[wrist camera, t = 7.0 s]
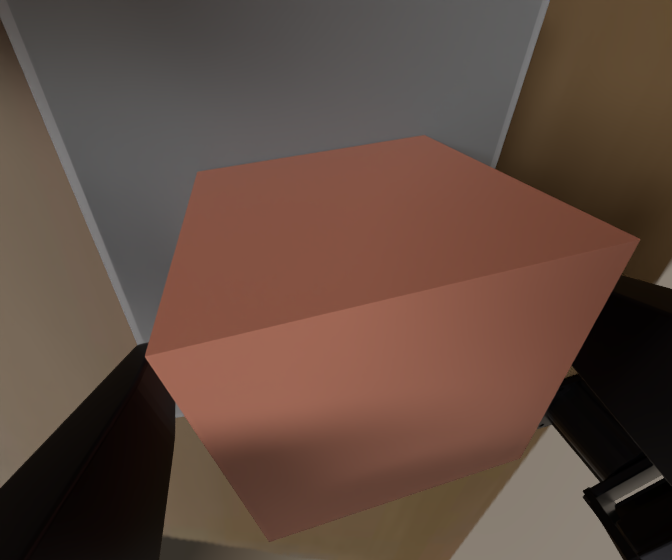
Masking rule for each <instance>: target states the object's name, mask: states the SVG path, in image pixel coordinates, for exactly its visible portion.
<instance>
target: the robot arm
mask: <svg viewBox="0 0 672 560" xmlns="http://www.w3.org/2000/svg"><path fill="white" fill-rule="evenodd" d="M148 343H149V342H147V343H142V344H139V345H137V346H136V347H135V348H134V349H133V350H132V351H131V352H130V353H129V354H128V355H127V356H126V357H125V358H124V359H123V360H122V361H121V362H120V363H119V365H118V366H117V367H116V368H115V369H114V370H113V371H112V372H111V373H110V374H109V375H108V376H107V377H106V378H105V379H104V380H103V381H102V382H101V383H100V384H99V385H98V386H97V388H96V389H95V390H94V391H93V392H92V393H91V394H90V395H89V396H88V397H87V398H86V399H85V400H84V401H83V402H82V403H81V404H80V405H79V406H78V407H77V408H76V410H75V411H74V412H73V413H72V414H71V415H70V416H69V417H68V418H67V419H66V420H65V421H64V422H63V423H62V424H61V425H60V426H59V427H58V428H57V429H56V430H55V432H54V433H53V434H52V435H51V436H50V437H49V438H48V439H47V440H46V441H45V442H44V443H43V444H42V445H41V446H40V447H39V448H38V449H37V450H36V451H35V452H34V453H33V455H32V456H31V457H30V458H29V459H28V460H27V461H26V462H25V463H24V464H23V465H22V466H21V467H20V468H19V469H18V470H17V471H16V472H15V473H14V474H13V475H12V477H11V478H10V479H9V480H8V481H7V482H6V483H5V484H4V485H3V486H2V487H1V488H0V560H159V557H160V549H161V541H162V534H163V527H164V519H165V511H166V504H167V496H168V489H169V481H170V474H171V466H172V458H173V451H174V441H175V405H176V402H175V401H174V399H173V398H172V396H171V395H170V394H169V392H168V391H167V389H166V388H165V386H164V385H163V383H162V382H161V380H160V379H159V377H158V376H157V374H156V373H155V371H154V370H153V368H152V367H151V365H150V364H149V362H148V361H147V359H146V358H145V354H146V350H147V347H148ZM572 366H573V368H574V369H575V370H576V371H577V373H578V374H579V375H580V376H577V377H574V378H571V379H567V380H564V381H562V383H561V385H560V387H559V389H558V391H557V392H556V394H555V396H554V398H553V400H552V401H551V403H550V405H549V407H548V409H547V411H546V412H545V414H544V416H543V418H542V420H541V421H540V423H539V425H538V427H537V429H539V428H542V427H546V426H549V425H553V426H554V427H555V429H556V430H557V431H558V432H559V433H560V434H561V436H562V437H563V438H564V439H565V441H566V442H567V443H568V444H569V445H570V447H571V448H572V449H573V450H574V451H575V452H576V454H577V455H578V456H579V457H580V458H581V460H582V461H583V462H584V463H585V464H586V466H587V467H588V468H589V469H590V471H591V472H592V473H593V474H594V475H595V477H596V478H597V479H598V480H599V481H600V483H598V484H597V485H595V486H593V487H591V488H589V487H588V488H587V489H585V490H583V492H584V494H585V495H584V496H583V498H584V500H585V501H586V502H587V504H588V505H589V506H590V508H591V509H592V510H593V511H594V513H595V514H596V516H597V517H598V518H599V520H600V521H601V523H602V524H603V526H604V527H605V529H606V531H607V533H608V534H609V536H610V538H611V539H612V541H613V543H614V544H615V546H616V548H617V550H618V551H619V553H620V555H621V556H622V558H623V560H672V289H670V288H666V287H663V286H659V285H655V284H652V283H648V282H644V281H641V280H637V279H633V278H630V277H626V276H622V275H621V276H620V278H619V280H618V281H617V283H616V285H615V287H614V289H613V290H612V292H611V294H610V296H609V298H608V300H607V301H606V303H605V305H604V307H603V309H602V310H601V312H600V314H599V316H598V318H597V320H596V321H595V323H594V325H593V327H592V329H591V330H590V332H589V334H588V336H587V338H586V340H585V341H584V343H583V345H582V347H581V349H580V351H579V352H578V354H577V356H576V358H575V360H574V361H573V363H572ZM661 475H663V477H664V478H663V479H661V480H659V481H658V482H656V483H654V484H652V485H650V486H648V487H647V488H645V489H643V490H641V491H639V492H637V493H636V494H634V495H632V496H630V497H628V498H626V499H624V500H623V501H621V502H619V503H617V504H616V503H615V502H614V501H615V500H617V499H619V498H621V497H623V496H624V495H626V494H628V493H630V492H632V491H633V490H635V489H637V488H639V487H641V486H643V485H644V484H646V483H648V482H650V481H652V480H654V479H655V478H657V477H659V476H661Z"/></svg>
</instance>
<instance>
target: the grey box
mask: <svg viewBox="0 0 672 560" xmlns="http://www.w3.org/2000/svg"><path fill="white" fill-rule="evenodd" d="M549 1H550V0H0V18H1V20H2V23H3V25H4V27H5V30H6V32H7V35H8V37H9V39H10V42H11V44H12V47H13V49H14V51H15V54H16V56H17V59H18V61H19V63H20V66H21V68H22V70H23V73H24V75H25V78H26V80H27V82H28V85H29V87H30V90H31V92H32V94H33V97H34V99H35V101H36V104H37V106H38V109H39V111H40V113H41V116H42V118H43V121H44V123H45V125H46V128H47V130H48V132H49V135H50V137H51V140H52V142H53V144H54V147H55V149H56V152H57V154H58V156H59V159H60V161H61V163H62V166H63V168H64V171H65V173H66V175H67V178H68V180H69V183H70V185H71V187H72V190H73V192H74V194H75V197H76V199H77V202H78V204H79V206H80V209H81V211H82V214H83V216H84V218H85V221H86V223H87V225H88V228H89V230H90V233H91V235H92V237H93V240H94V242H95V245H96V247H97V249H98V252H99V254H100V256H101V259H102V261H103V264H104V266H105V268H106V271H107V273H108V276H109V278H110V280H111V283H112V285H113V287H114V290H115V292H116V295H117V297H118V299H119V302H120V304H121V307H122V309H123V311H124V314H125V316H126V318H127V321H128V323H129V326H130V328H131V330H132V333H133V335H134V338H135V340H136V342H137V345H139V344H142V343H147V342H149V340H150V336H151V333H152V329H153V326H154V322H155V319H156V315H157V312H158V308H159V305H160V301H161V298H162V294H163V291H164V287H165V284H166V280H167V277H168V273H169V269H170V266H171V262H172V259H173V255H174V252H175V248H176V245H177V241H178V238H179V234H180V231H181V227H182V224H183V220H184V217H185V213H186V210H187V206H188V203H189V199H190V196H191V192H192V189H193V185H194V182H195V178H196V175H197V172H199V171H205V170H211V169H217V168H223V167H230V166H236V165H242V164H248V163H254V162H261V161H267V160H273V159H279V158H285V157H292V156H298V155H304V154H310V153H316V152H323V151H329V150H335V149H341V148H347V147H354V146H360V145H366V144H372V143H378V142H384V141H391V140H397V139H403V138H409V137H415V136H422V135H426V136H428V137H430V138H432V139H434V140H436V141H438V142H440V143H442V144H444V145H446V146H448V147H450V148H452V149H455V150H457V151H459V152H461V153H463V154H465V155H467V156H469V157H471V158H473V159H475V160H477V161H479V162H481V163H484V164H486V165H488V166H490V167H492V168H494V169H495V168H496V165H497V162H498V159H499V156H500V152H501V149H502V146H503V143H504V140H505V137H506V134H507V131H508V128H509V125H510V122H511V118H512V115H513V112H514V109H515V106H516V103H517V100H518V97H519V94H520V91H521V88H522V85H523V81H524V78H525V75H526V72H527V69H528V66H529V63H530V60H531V57H532V54H533V51H534V47H535V44H536V41H537V38H538V35H539V32H540V29H541V26H542V23H543V20H544V17H545V14H546V10H547V7H548V4H549ZM182 416H184V414H183V413H182V411H181V410H180V408H179V407H178V405H177V404H176V405H175V418H176V417H182Z"/></svg>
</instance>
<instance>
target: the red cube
mask: <svg viewBox="0 0 672 560" xmlns="http://www.w3.org/2000/svg"><path fill="white" fill-rule="evenodd" d="M639 241H640V239H639V238H637V237H635V236H633V235H631V234H629V233H627V232H625V231H622V230H620V229H618V228H616V227H614V226H612V225H610V224H608V223H606V222H604V221H602V220H600V219H598V218H595V217H593V216H591V215H589V214H587V213H585V212H583V211H581V210H579V209H577V208H575V207H573V206H571V205H569V204H566V203H564V202H562V201H560V200H558V199H556V198H554V197H552V196H550V195H548V194H546V193H544V192H542V191H540V190H537V189H535V188H533V187H531V186H529V185H527V184H525V183H523V182H521V181H519V180H517V179H515V178H513V177H510V176H508V175H506V174H504V173H502V172H500V171H498V170H496V169H494V168H492V167H490V166H488V165H486V164H484V163H481V162H479V161H477V160H475V159H473V158H471V157H469V156H467V155H465V154H463V153H461V152H459V151H457V150H455V149H452V148H450V147H448V146H446V145H444V144H442V143H440V142H438V141H436V140H434V139H432V138H430V137H428V136H426V135H422V136H415V137H409V138H403V139H397V140H391V141H384V142H378V143H372V144H366V145H360V146H354V147H347V148H341V149H335V150H329V151H323V152H316V153H310V154H304V155H298V156H292V157H285V158H279V159H273V160H267V161H261V162H254V163H248V164H242V165H236V166H230V167H223V168H217V169H211V170H205V171H199V172H197V175H196V178H195V182H194V185H193V189H192V192H191V196H190V199H189V203H188V206H187V210H186V213H185V217H184V220H183V224H182V227H181V231H180V234H179V238H178V241H177V245H176V248H175V252H174V255H173V259H172V262H171V266H170V269H169V273H168V277H167V280H166V284H165V287H164V291H163V294H162V298H161V301H160V305H159V308H158V312H157V315H156V319H155V322H154V326H153V329H152V333H151V336H150V340H149V343H148V347H147V350H146V354H145V358H146V359H147V361H148V362H149V364H150V365H151V367H152V368H153V370H154V371H155V373H156V374H157V376H158V377H159V379H160V380H161V382H162V383H163V385H164V386H165V388H166V389H167V391H168V392H169V394H170V395H171V396H172V398H173V399H174V401H175V402H176V404H177V405H178V407H179V408H180V410H181V411H182V413H183V414H184V416H185V417H186V419H187V420H188V422H189V423H190V425H191V426H192V428H193V429H194V431H195V432H196V434H197V435H198V437H199V438H200V440H201V441H202V443H203V444H204V446H205V447H206V449H207V450H208V452H209V453H210V455H211V456H212V458H213V459H214V461H215V462H216V464H217V465H218V466H219V468H220V469H221V471H222V472H223V474H224V475H225V477H226V478H227V480H228V481H229V483H230V484H231V486H232V487H233V489H234V490H235V492H236V493H237V495H238V496H239V498H240V499H241V501H242V502H243V504H244V505H245V507H246V508H247V510H248V511H249V513H250V514H251V516H252V517H253V519H254V520H255V522H256V523H257V525H258V526H259V528H260V529H261V531H262V532H263V534H264V535H265V536H266V538H267V539H268V541H269V542H271V541H274V540H277V539H280V538H283V537H286V536H289V535H292V534H295V533H298V532H301V531H304V530H307V529H310V528H313V527H316V526H319V525H322V524H325V523H328V522H331V521H334V520H337V519H340V518H343V517H346V516H349V515H352V514H355V513H358V512H361V511H364V510H367V509H370V508H373V507H376V506H379V505H382V504H385V503H388V502H391V501H394V500H397V499H400V498H403V497H406V496H409V495H412V494H415V493H418V492H421V491H424V490H427V489H430V488H433V487H436V486H439V485H442V484H445V483H448V482H451V481H454V480H457V479H460V478H463V477H466V476H469V475H472V474H475V473H478V472H481V471H484V470H487V469H490V468H493V467H496V466H499V465H502V464H505V463H508V462H511V461H514V460H517V459H520V458H521V456H522V454H523V452H524V451H525V449H526V447H527V445H528V443H529V442H530V440H531V438H532V436H533V434H534V432H535V431H536V429H537V427H538V425H539V423H540V421H541V420H542V418H543V416H544V414H545V412H546V411H547V409H548V407H549V405H550V403H551V401H552V400H553V398H554V396H555V394H556V392H557V391H558V389H559V387H560V385H561V383H562V381H563V380H564V378H565V376H566V374H567V372H568V371H569V369H570V367H571V365H572V363H573V361H574V360H575V358H576V356H577V354H578V352H579V351H580V349H581V347H582V345H583V343H584V341H585V340H586V338H587V336H588V334H589V332H590V330H591V329H592V327H593V325H594V323H595V321H596V320H597V318H598V316H599V314H600V312H601V310H602V309H603V307H604V305H605V303H606V301H607V300H608V298H609V296H610V294H611V292H612V290H613V289H614V287H615V285H616V283H617V281H618V280H619V278H620V276H621V274H622V272H623V270H624V269H625V267H626V265H627V263H628V261H629V260H630V258H631V256H632V254H633V252H634V250H635V249H636V247H637V245H638V243H639Z"/></svg>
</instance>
